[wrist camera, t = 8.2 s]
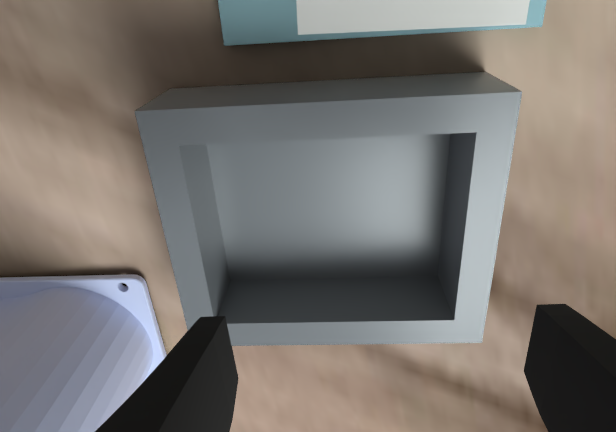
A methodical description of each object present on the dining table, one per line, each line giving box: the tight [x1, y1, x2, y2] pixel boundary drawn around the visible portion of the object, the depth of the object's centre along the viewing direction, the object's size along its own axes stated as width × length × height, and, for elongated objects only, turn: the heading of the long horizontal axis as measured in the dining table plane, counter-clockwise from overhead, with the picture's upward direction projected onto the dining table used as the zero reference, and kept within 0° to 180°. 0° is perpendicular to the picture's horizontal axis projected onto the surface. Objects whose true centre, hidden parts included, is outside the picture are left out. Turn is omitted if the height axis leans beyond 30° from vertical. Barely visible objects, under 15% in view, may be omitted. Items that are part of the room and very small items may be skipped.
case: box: [135, 72, 522, 346], centre depth 17 cm, size 12×10×4 cm
